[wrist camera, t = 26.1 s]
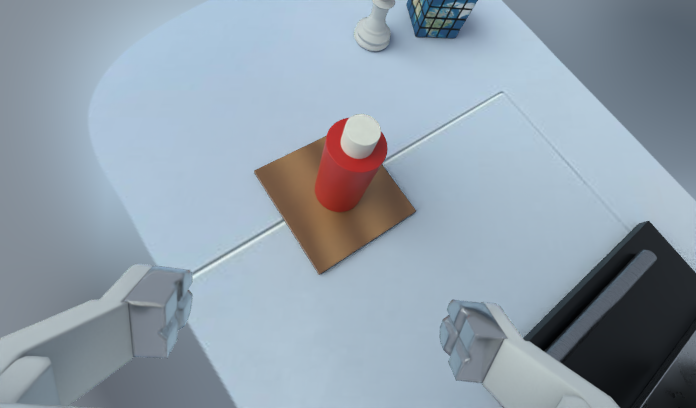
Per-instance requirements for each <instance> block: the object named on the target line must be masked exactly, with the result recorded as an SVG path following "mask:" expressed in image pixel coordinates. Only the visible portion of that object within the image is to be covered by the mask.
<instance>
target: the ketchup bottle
mask: <svg viewBox="0 0 696 408" xmlns="http://www.w3.org/2000/svg"><path fill="white" fill-rule="evenodd" d="M386 155H387V142H386V139H385V137H384V135H383V133H382V132H381V128H380V126H379V124H378V122H377V121H376V120H375V119H374V118H372V117H371V116H368V115H365V114H356V115H353V116H351V117H350V118H346V119H342V120H340V121H338V122H336V123H335V124H334V125H333V126H332V127H331V128H330V129H329V131H328V133H327V136H326V141H325V145H324V149H323V153H322V157H321V162H320V166H319V170H318V174H317V179H316V183H315V194H316V197H317V199H318V201H319V202H320V203H321V204H322V205H323V206H324V207H325V208H327V209H329V210H331V211H335V212H345V211H348V210H350V209H352V208H354V207H355V206H356V205H357V204H358V202H359V201H360V199H361V197H362V196H363V194H364V192H365V191H366V189H367V187H368V186H369V184H370V183H371V181H372V179H373V178H374V176H375V174H376V173H377V171H378V170H379V168H380V166H381V165H382V163H383V161H384V160H385V158H386Z"/></svg>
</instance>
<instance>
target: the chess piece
mask: <svg viewBox="0 0 696 408" xmlns="http://www.w3.org/2000/svg"><path fill="white" fill-rule="evenodd" d="M372 1H373V8H372V12H371V14H370V15H369V16H368V17H365V18H362V19H361V20H360V21H359V22H358V23H357V27H356V28H355V30H354V37H355V39H356V41H357V43H358V44H359V45H360V46H361V47H362V48H364V49H366V50H369V51H380V50H382V49H384V48H386V47H387V46H388V44H389V38H390V35H391V33H390V29H389V27H388V26H387V24H386V21H385V18H386V15H387V13H388V10H389V9H390V8H392V7H393V6H394V5H395V0H372Z"/></svg>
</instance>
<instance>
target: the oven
mask: <svg viewBox="0 0 696 408" xmlns="http://www.w3.org/2000/svg"><path fill="white" fill-rule="evenodd" d="M523 339H524V340H525V341H530V342H531V343H533V344H534V345H535V346H537V347H538V348H540V349H541V350H543V351H544V352H546V353H547V354H549V355H550V356H552V357H553V358H554V359H556V360H557V361H559V362H560V363H562V364H563V365H565V366H566V367H568V368H569V369H571V370H572V371H573V372H575V373H576V374H578V375H579V376H581V377H582V378H584V379H585V380H587V381H588V382H589V383H591V384H592V385H594V386H595V387H597V388H598V389H600V390H601V391H603V392H604V393H606V394H607V395H608V396H610V397H611V398H612V399H613V400H614V401H615V402H616V404H617V405H618V406H619V407H620V408H696V273H695V272H694V271H693V269H692V268H691V267H690V266H689V265H688V264H687V263H686V262H685V261H684V259H683V258H682V257H681V256H680V255H679V254H678V253H677V252H676V251H675V249H674V248H673V247H672V246H671V245H670V244H669V243H668V242H667V240H666V239H665V238H664V237H663V236H662V235H661V234H660V233H659V232H658V230H657V229H656V228H655V227H654V226H653V225H652V224H651V223H650V222H649V221H646V222H643V223H639V224H638V225H637V226H636V227H635V228H634V229H633V230H632V231H631V232H630V233H629V234H628V235H627V236H626V237H625V238H624V239H623V240H622V241H621V242H620V243H619V244H618V245H617V246H616V247H615V248H614V249H613V250H612V251H611V252H610V253H609V254H608V255H607V256H606V257H605V258H604V259H603V260H602V261H601V262H600V263H599V264H598V265H597V266H596V267H595V268H594V269H593V270H592V271H591V272H590V273H589V274H588V275H587V276H586V277H585V278H584V279H583V280H582V281H581V282H580V283H579V284H578V285H577V286H576V287H575V288H574V289H573V290H572V291H571V292H570V293H569V294H567V295H566V296H565V297H564V298H563V299H562V300H561V301H560V302H559V303H558V304H557V305H556V306H555V307H554V308H553V309H552V310H551V311H550V312H549V313H548V314H547V315H546V316H545V317H544V318H543V319H542V320H541V321H540V322H539V323H538V324H537V325H536V326H535V327H534V328H533V329H532V330H531V331H530V332H529V333H528V334H527V335H526V336H525V337H524V338H523Z"/></svg>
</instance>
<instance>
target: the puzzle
mask: <svg viewBox="0 0 696 408" xmlns="http://www.w3.org/2000/svg"><path fill="white" fill-rule="evenodd" d="M477 1H478V0H408V2H407V8H408V11H409V15H410V18H411V22H412V25H413V29H414V32H415V35H416V36H418V37H425V36H426V37H441V38H445V37H446V38H455V37H456V36H457V34H458V32H459V31H460V29H461V27H462V26H463V24H464V22H465V21H466V19H467V17H468V16H469V14H470V12H471V11H472V9H473V7H474V6H475V4H476V2H477Z"/></svg>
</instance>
